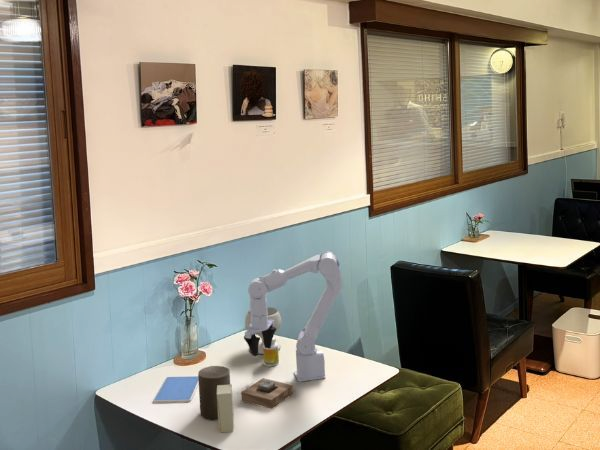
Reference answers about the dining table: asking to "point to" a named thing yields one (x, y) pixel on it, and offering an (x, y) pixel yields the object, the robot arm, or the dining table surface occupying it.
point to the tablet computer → (177, 389)
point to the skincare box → (225, 408)
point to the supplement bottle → (271, 354)
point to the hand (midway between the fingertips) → (261, 351)
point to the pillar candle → (211, 389)
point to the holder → (267, 394)
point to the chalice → (272, 315)
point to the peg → (266, 387)
